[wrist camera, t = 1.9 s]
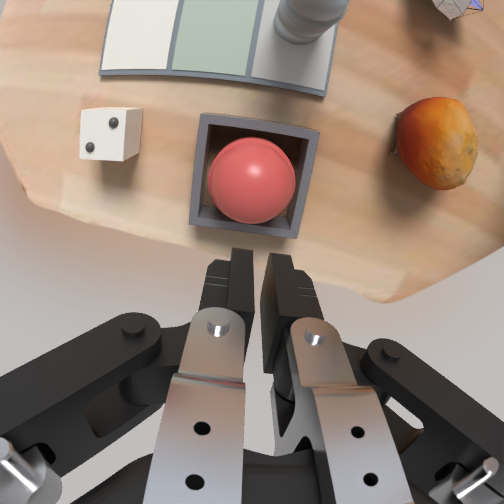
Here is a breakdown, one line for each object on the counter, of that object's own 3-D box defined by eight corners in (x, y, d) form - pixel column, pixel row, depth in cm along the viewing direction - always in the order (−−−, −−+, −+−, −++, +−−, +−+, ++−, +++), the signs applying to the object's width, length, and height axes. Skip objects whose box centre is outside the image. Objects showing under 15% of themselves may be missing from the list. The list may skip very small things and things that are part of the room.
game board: (343, -21, 18) (345, -23, 18) (324, 96, 23) (325, 96, 23) (125, -38, 16) (122, -41, 16) (101, 75, 22) (98, 75, 21)
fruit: (369, 89, 22) (457, 96, 16) (415, 95, 25) (486, 105, 19) (370, 181, 25) (450, 207, 19) (414, 171, 29) (480, 190, 23)
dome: (296, 142, 24) (310, 154, 19) (282, 215, 27) (291, 246, 22) (217, 130, 24) (208, 139, 18) (208, 204, 26) (198, 233, 21)
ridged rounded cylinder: (325, 9, 19) (364, -31, 11) (319, 49, 21) (356, 25, 12) (277, -2, 19) (292, -50, 10) (270, 39, 21) (282, 6, 12)
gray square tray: (312, 129, 25) (319, 132, 22) (292, 225, 29) (296, 239, 26) (205, 112, 24) (200, 113, 21) (194, 211, 28) (188, 224, 25)
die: (143, 108, 24) (124, 110, 20) (139, 152, 25) (121, 162, 22) (102, 107, 23) (79, 110, 19) (99, 150, 25) (77, 159, 21)
